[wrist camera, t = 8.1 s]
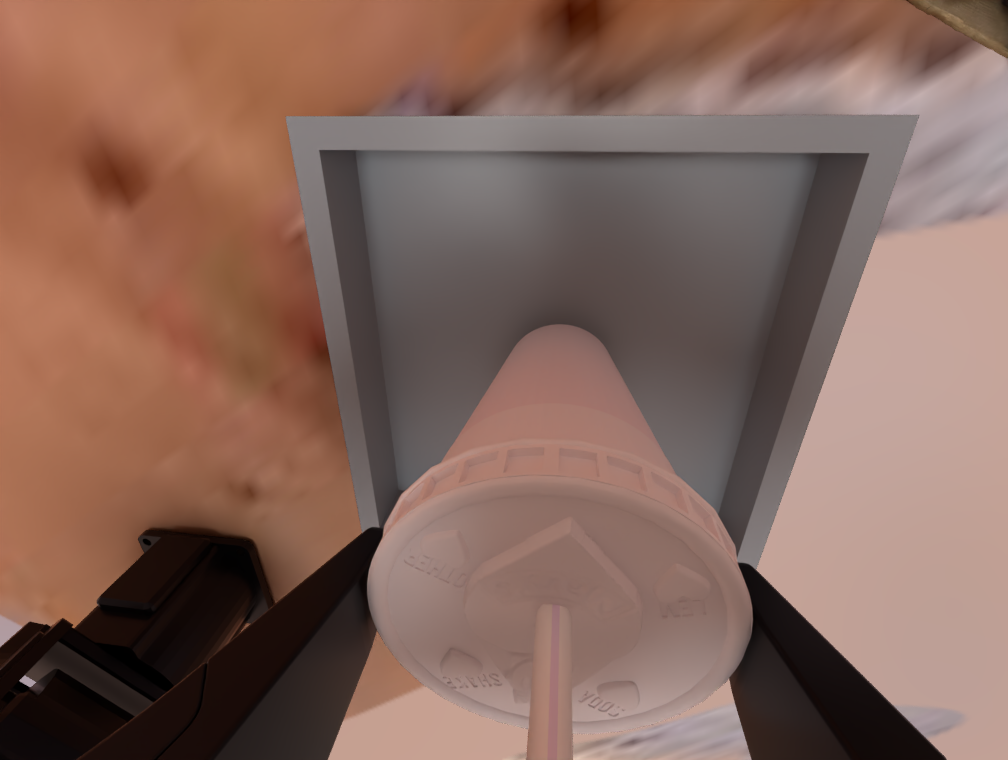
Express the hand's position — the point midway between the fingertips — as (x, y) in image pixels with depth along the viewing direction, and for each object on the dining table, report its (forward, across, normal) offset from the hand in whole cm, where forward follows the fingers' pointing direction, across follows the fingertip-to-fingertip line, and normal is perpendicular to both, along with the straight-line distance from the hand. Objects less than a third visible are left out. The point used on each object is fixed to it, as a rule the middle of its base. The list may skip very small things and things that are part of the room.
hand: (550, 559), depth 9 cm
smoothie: (+8, 0, 0) cm, 8 cm away
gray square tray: (+10, 0, 0) cm, 10 cm away
